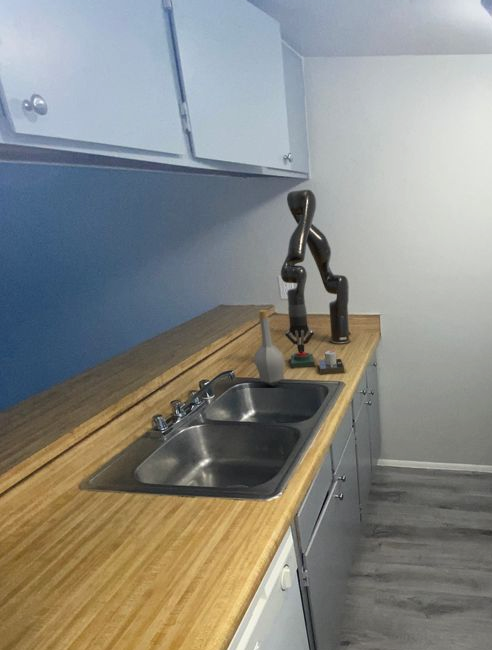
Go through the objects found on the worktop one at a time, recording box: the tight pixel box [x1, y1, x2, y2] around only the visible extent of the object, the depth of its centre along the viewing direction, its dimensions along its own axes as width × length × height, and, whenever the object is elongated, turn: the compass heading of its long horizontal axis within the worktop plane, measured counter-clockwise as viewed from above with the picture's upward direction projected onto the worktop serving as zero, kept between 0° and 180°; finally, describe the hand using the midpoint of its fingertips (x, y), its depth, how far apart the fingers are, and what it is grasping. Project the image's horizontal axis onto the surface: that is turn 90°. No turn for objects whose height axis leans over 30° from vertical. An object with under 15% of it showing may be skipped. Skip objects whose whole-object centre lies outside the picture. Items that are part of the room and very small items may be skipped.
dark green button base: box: [290, 352, 315, 369], centre depth 214 cm, size 12×10×4 cm
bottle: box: [253, 309, 286, 387], centre depth 182 cm, size 11×11×30 cm
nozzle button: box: [296, 351, 307, 356], centre depth 213 cm, size 4×4×2 cm
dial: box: [324, 350, 337, 365], centre depth 206 cm, size 5×5×5 cm
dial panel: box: [318, 358, 345, 375], centre depth 208 cm, size 12×10×3 cm
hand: (301, 352), depth 213 cm, fingers closed
